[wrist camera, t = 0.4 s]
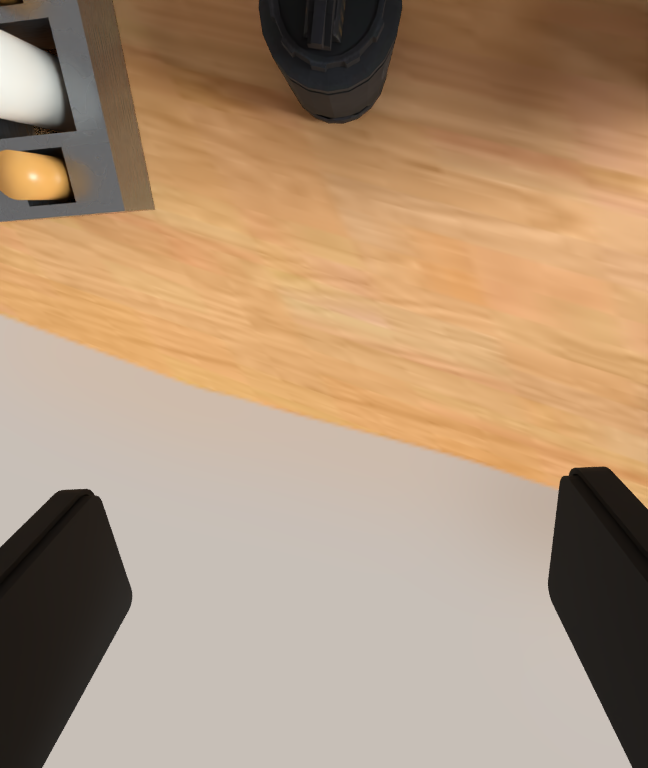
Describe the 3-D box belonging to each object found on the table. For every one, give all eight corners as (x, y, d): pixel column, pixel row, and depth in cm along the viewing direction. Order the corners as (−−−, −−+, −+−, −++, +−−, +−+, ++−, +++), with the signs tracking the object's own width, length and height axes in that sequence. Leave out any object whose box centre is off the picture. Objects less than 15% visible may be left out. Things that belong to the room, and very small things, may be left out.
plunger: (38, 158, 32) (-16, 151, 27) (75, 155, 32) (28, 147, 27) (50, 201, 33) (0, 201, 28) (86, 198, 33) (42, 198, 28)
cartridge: (24, 62, 32) (-149, -9, 21) (87, 55, 32) (-55, -22, 21) (44, 138, 34) (-105, 109, 23) (105, 132, 34) (-18, 99, 23)
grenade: (385, 124, 32) (408, 67, 18) (294, 129, 33) (250, 78, 19) (386, -1, 30) (413, -176, 16) (287, 7, 30) (229, -156, 16)
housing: (-40, -32, 30) (-110, -74, 26) (101, -52, 30) (54, -99, 25) (35, 219, 36) (-11, 222, 32) (154, 209, 36) (125, 211, 31)
